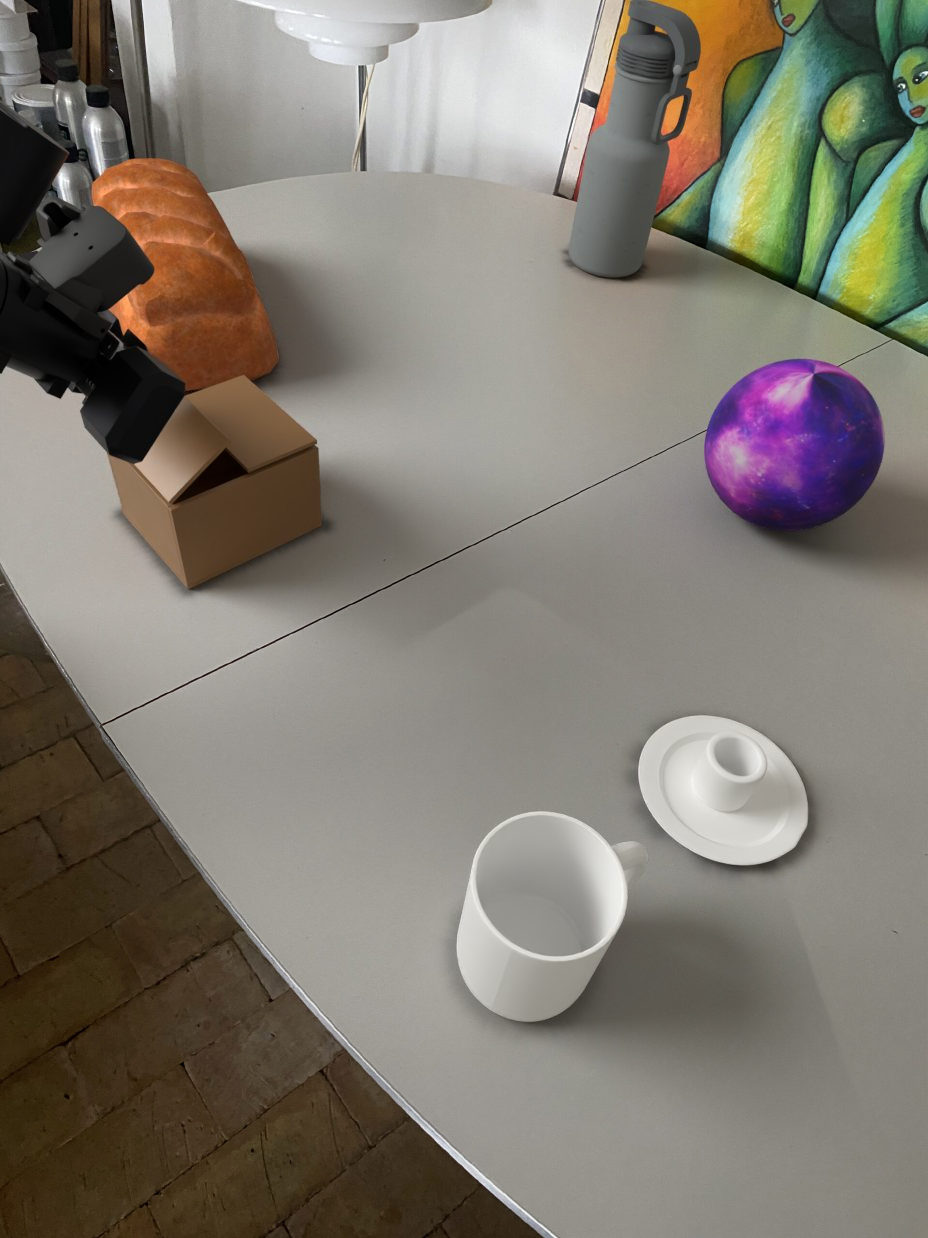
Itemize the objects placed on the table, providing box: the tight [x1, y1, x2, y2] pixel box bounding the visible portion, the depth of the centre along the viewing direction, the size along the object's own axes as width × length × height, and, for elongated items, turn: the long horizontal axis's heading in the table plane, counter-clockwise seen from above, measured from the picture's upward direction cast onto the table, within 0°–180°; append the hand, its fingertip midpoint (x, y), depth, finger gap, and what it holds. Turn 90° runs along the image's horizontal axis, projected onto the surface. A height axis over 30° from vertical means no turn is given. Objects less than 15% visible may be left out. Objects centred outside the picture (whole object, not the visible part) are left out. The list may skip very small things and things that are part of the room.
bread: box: [91, 157, 280, 392], centre depth 92 cm, size 16×31×13 cm, turn 24°
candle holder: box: [637, 714, 809, 866], centre depth 60 cm, size 12×12×4 cm
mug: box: [456, 810, 649, 1023], centre depth 50 cm, size 12×8×10 cm
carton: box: [106, 375, 323, 590], centre depth 72 cm, size 13×11×9 cm
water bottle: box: [568, 0, 702, 279], centre depth 103 cm, size 10×10×28 cm
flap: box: [134, 395, 231, 504], centre depth 66 cm, size 6×11×1 cm
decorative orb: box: [703, 358, 886, 532], centre depth 78 cm, size 15×15×15 cm
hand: (177, 398), depth 65 cm, fingers closed
